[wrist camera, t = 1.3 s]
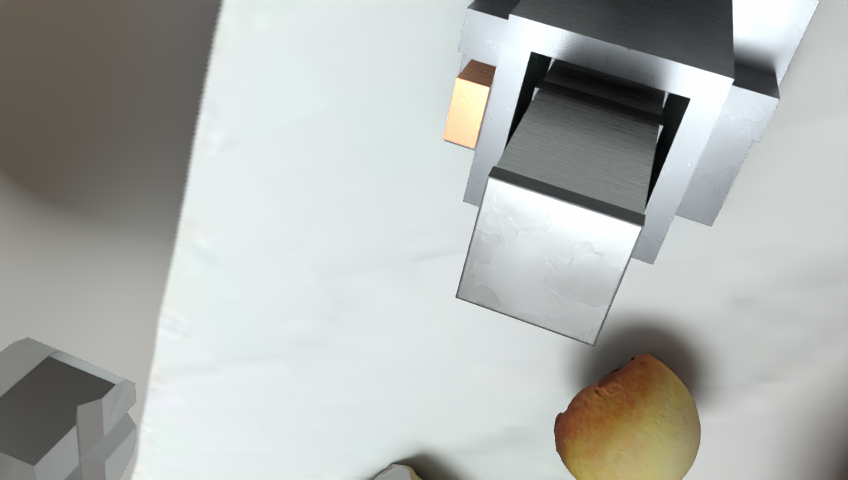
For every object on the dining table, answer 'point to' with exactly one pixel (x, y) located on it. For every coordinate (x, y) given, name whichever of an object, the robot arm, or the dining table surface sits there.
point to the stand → (639, 62)
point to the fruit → (630, 426)
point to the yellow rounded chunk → (398, 473)
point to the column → (566, 202)
